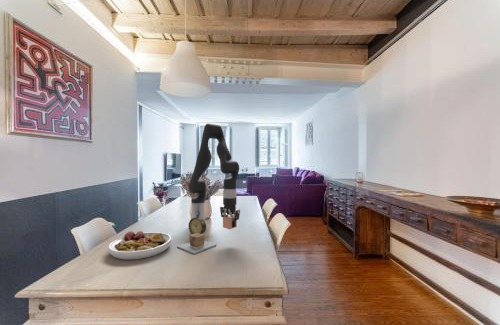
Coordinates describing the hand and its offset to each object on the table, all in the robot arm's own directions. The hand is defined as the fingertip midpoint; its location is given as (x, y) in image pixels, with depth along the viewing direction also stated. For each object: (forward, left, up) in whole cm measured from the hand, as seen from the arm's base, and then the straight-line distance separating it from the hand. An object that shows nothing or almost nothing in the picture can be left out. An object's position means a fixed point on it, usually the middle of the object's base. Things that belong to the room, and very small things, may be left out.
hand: (229, 226), depth 136 cm
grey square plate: (-11, -15, -10) cm, 21 cm away
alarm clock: (-24, -4, -10) cm, 26 cm away
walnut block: (-11, -15, -9) cm, 20 cm away
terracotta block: (0, 0, -1) cm, 1 cm away
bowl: (-31, -36, -10) cm, 48 cm away
